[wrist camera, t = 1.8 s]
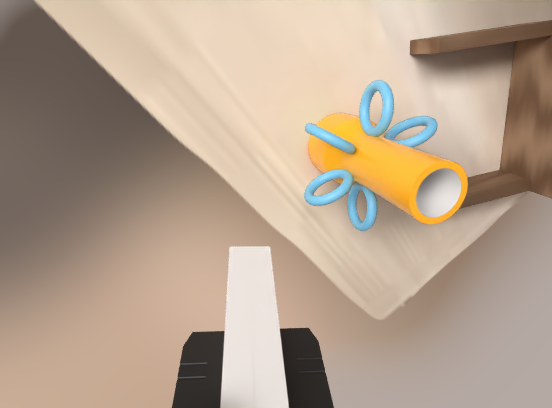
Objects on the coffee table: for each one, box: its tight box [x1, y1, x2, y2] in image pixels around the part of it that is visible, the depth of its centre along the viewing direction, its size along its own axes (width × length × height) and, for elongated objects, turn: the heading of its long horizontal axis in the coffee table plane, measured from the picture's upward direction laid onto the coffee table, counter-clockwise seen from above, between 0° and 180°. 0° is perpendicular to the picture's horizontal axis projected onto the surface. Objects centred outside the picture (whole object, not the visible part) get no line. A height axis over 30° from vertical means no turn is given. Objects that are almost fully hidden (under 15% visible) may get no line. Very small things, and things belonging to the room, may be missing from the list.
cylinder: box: [304, 80, 468, 231], centre depth 28 cm, size 12×10×15 cm
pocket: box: [410, 20, 552, 209], centre depth 35 cm, size 16×13×7 cm
